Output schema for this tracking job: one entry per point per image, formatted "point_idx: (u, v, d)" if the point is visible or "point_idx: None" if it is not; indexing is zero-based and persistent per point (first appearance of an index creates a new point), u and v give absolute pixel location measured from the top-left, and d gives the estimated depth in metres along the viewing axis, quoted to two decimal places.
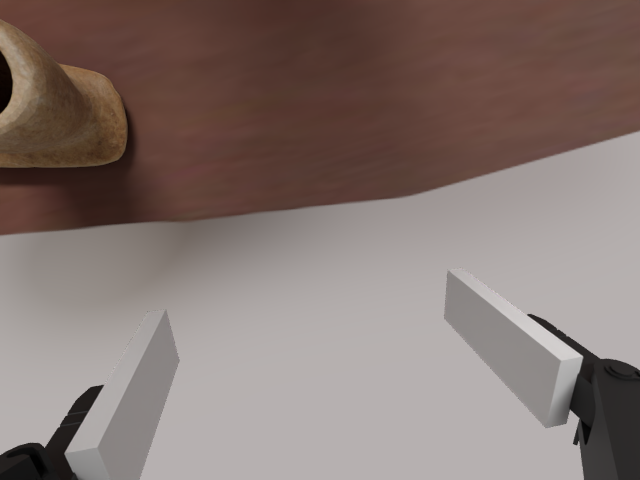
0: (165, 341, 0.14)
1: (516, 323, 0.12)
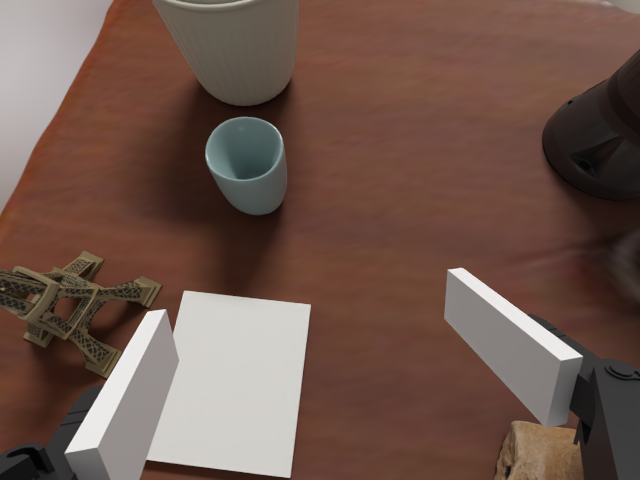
0: (165, 341, 0.14)
1: (516, 323, 0.12)
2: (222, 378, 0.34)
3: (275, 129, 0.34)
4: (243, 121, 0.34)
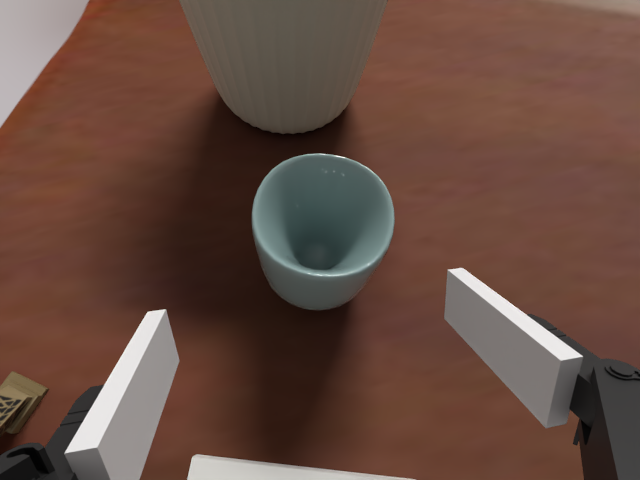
0: (165, 341, 0.14)
1: (516, 323, 0.12)
2: None
3: (376, 177, 0.19)
4: (316, 161, 0.19)
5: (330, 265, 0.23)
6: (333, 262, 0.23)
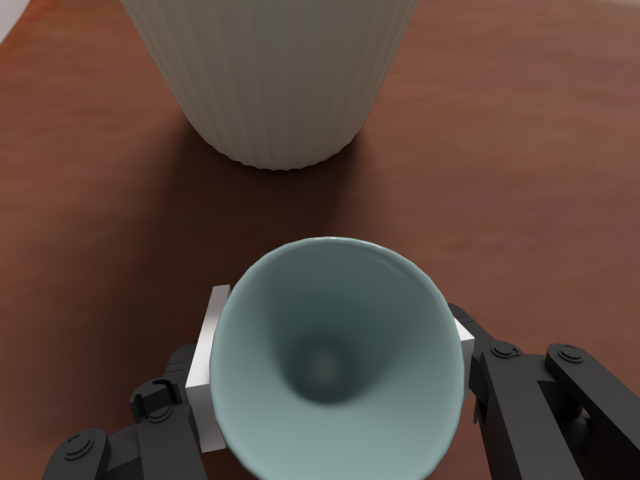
0: None
1: None
2: None
3: (425, 279, 0.11)
4: (324, 250, 0.12)
5: (343, 384, 0.15)
6: (348, 381, 0.15)
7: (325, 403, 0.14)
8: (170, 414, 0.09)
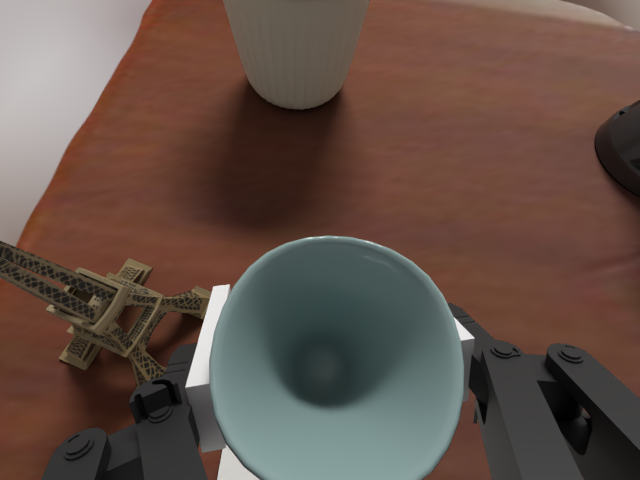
0: None
1: None
2: None
3: (425, 278, 0.11)
4: (324, 249, 0.12)
5: (343, 383, 0.15)
6: (348, 380, 0.15)
7: (325, 402, 0.14)
8: (170, 414, 0.09)
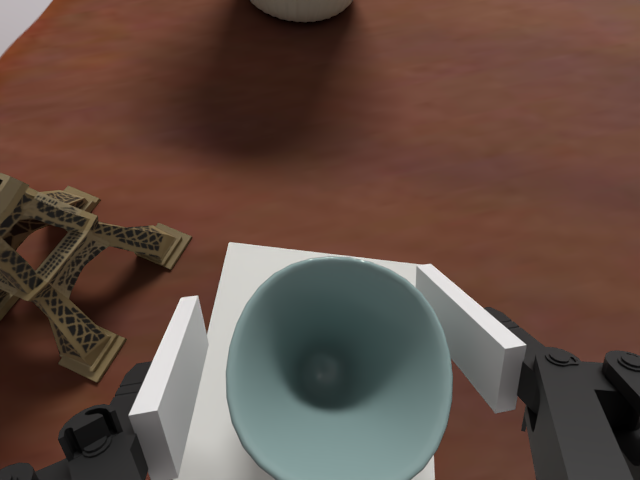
0: (198, 325, 0.15)
1: (471, 315, 0.12)
2: None
3: (418, 295, 0.12)
4: (326, 268, 0.13)
5: (344, 386, 0.17)
6: (348, 383, 0.17)
7: (327, 404, 0.16)
8: (108, 445, 0.08)
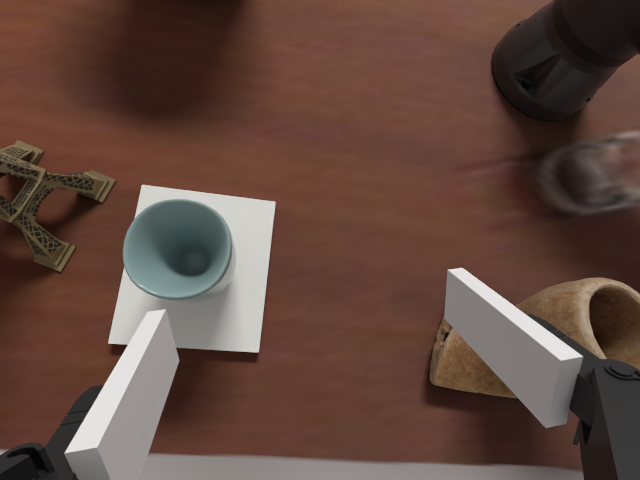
0: (165, 341, 0.14)
1: (516, 323, 0.12)
2: None
3: (220, 218, 0.26)
4: (175, 205, 0.26)
5: (204, 268, 0.31)
6: (206, 266, 0.31)
7: (192, 275, 0.30)
8: None
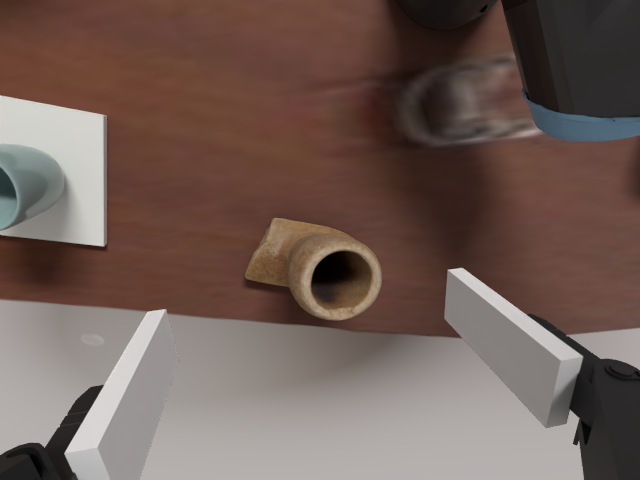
0: (165, 341, 0.14)
1: (516, 323, 0.12)
2: None
3: (2, 168, 0.30)
4: None
5: None
6: None
7: (15, 195, 0.35)
8: None
